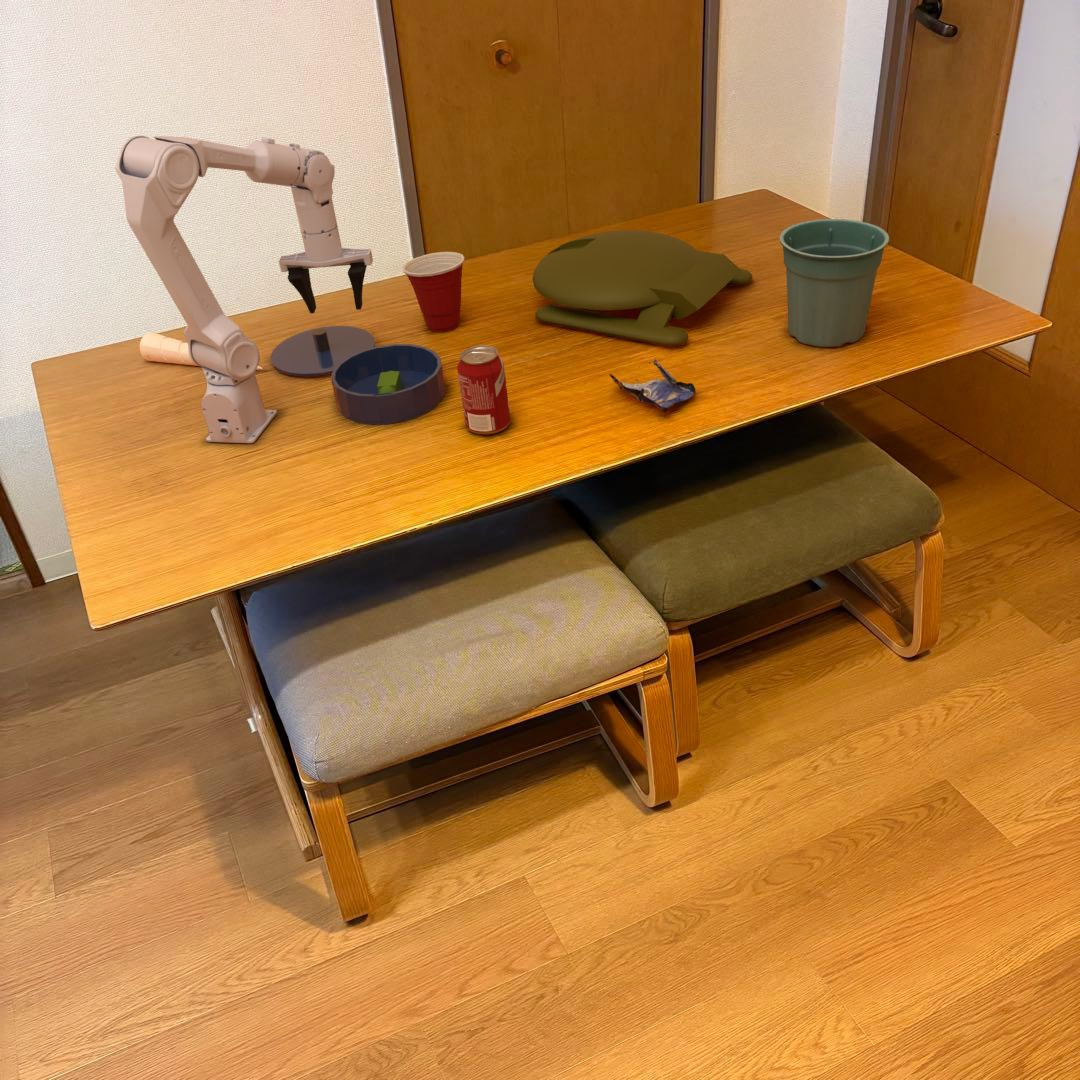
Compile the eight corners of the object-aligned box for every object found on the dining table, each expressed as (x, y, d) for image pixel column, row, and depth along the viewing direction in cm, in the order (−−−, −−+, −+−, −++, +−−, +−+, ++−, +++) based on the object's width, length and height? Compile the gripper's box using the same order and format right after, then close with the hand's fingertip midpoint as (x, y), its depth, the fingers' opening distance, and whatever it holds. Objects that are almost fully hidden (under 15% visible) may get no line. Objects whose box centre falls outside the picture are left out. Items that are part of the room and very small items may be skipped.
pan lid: (355, 380, 179) (350, 357, 176) (255, 378, 183) (248, 355, 180) (389, 331, 193) (385, 309, 190) (295, 330, 197) (290, 308, 194)
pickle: (397, 405, 170) (394, 389, 168) (378, 406, 170) (375, 390, 168) (403, 382, 176) (400, 366, 174) (384, 383, 176) (381, 368, 174)
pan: (427, 426, 165) (422, 397, 162) (321, 423, 168) (315, 394, 165) (457, 372, 178) (453, 344, 175) (359, 370, 182) (353, 343, 179)
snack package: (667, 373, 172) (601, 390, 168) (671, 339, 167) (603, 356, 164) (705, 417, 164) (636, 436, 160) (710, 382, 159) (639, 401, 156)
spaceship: (756, 280, 196) (758, 227, 191) (680, 353, 176) (679, 296, 171) (589, 255, 213) (586, 205, 207) (502, 318, 193) (495, 266, 187)
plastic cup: (446, 306, 199) (436, 243, 192) (485, 321, 193) (477, 256, 186) (400, 328, 194) (388, 264, 186) (439, 344, 187) (428, 278, 180)
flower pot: (826, 301, 187) (833, 209, 178) (901, 332, 175) (912, 235, 166) (754, 331, 180) (757, 237, 171) (826, 365, 169) (834, 266, 159)
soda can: (494, 441, 159) (485, 368, 152) (457, 432, 162) (446, 359, 155) (519, 420, 164) (511, 347, 157) (482, 411, 167) (473, 340, 160)
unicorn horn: (250, 381, 182) (242, 355, 179) (141, 364, 191) (133, 339, 188) (267, 368, 185) (260, 343, 182) (159, 352, 194) (151, 327, 192)
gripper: (368, 214, 172) (383, 295, 180) (278, 222, 173) (297, 301, 181) (362, 231, 166) (377, 313, 174) (268, 238, 167) (288, 320, 175)
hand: (336, 308), depth 177 cm, fingers open, 7 cm apart
